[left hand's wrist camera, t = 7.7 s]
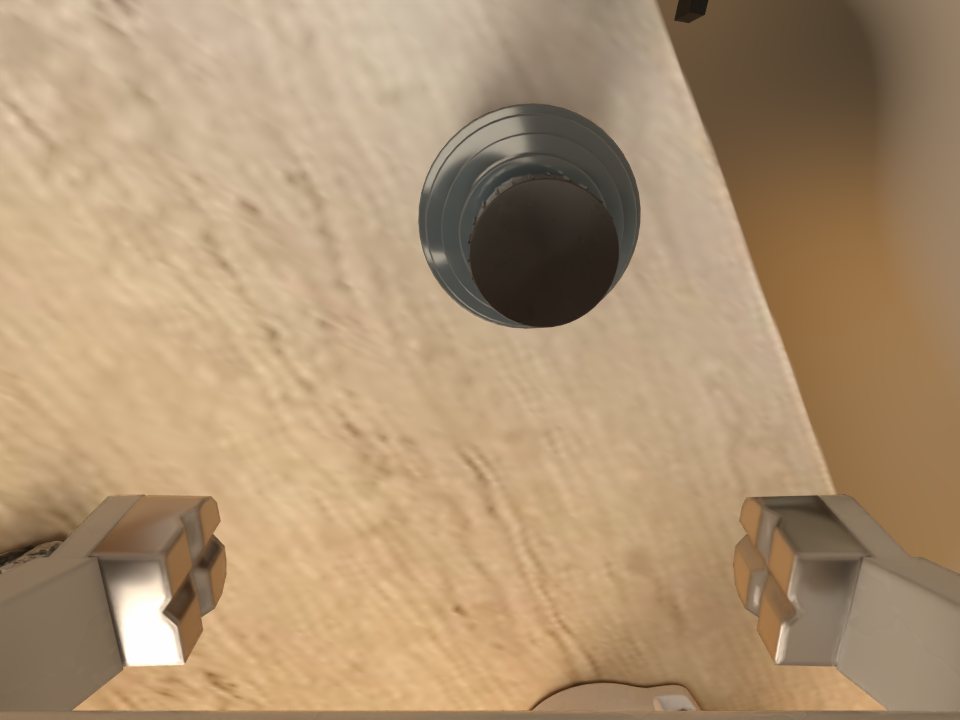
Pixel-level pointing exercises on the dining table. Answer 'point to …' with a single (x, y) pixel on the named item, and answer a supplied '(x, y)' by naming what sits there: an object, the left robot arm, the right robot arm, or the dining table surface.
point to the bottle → (512, 154)
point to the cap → (543, 250)
